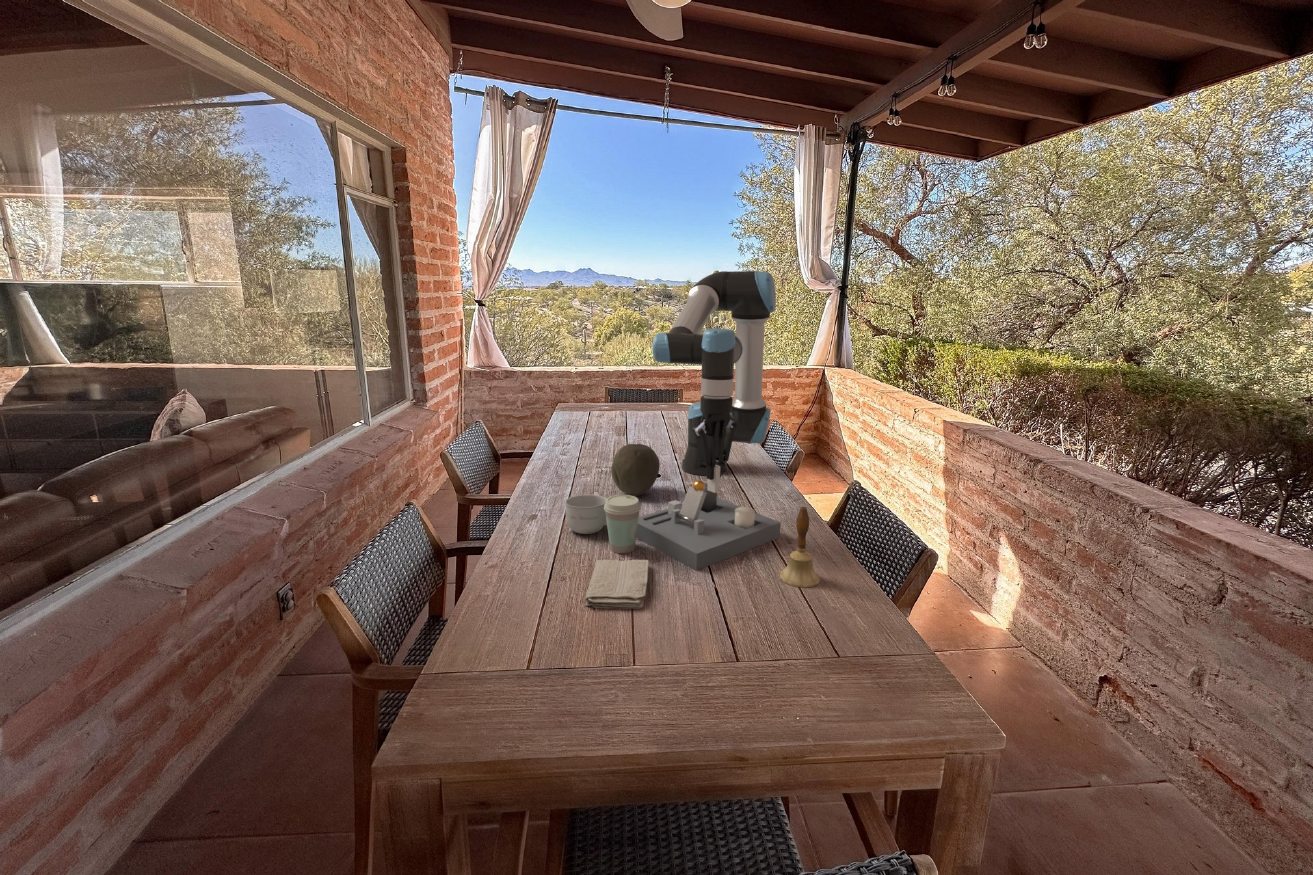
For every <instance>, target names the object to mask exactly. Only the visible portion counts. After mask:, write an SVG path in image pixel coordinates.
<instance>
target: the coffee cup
mask: <svg viewBox="0 0 1313 875" xmlns="http://www.w3.org/2000/svg"><path fill="white" fill-rule="evenodd" d="M606 498H607V500H606V503H605V505H604V510H605V512H606V520H607V525H606V526H607V527H606V528H607V535H608V542H609V549H610V551H612V552H613V553H616V554H629V553H631V552H633V551H634V550H635V548H636V542H637V538H636V535H637V526H638V518H639V517H640V516H639V515H640V510H641V509H642V507H641V503H640V501H639V498H638V497H637V496H632V495H629V494H615V495H611V496H609V497H606Z"/></svg>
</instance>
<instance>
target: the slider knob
mask: <svg viewBox="0 0 1313 875" xmlns="http://www.w3.org/2000/svg"><path fill="white" fill-rule="evenodd" d="M682 504H683V503H682V502H681V501H678V500H671V501H668V502H667V509H668V514H670V515H671V510H675V509H680V510H681V508H682Z"/></svg>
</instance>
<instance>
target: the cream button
mask: <svg viewBox="0 0 1313 875" xmlns="http://www.w3.org/2000/svg"><path fill="white" fill-rule="evenodd" d="M755 513H756V511H755V509H753V508H752V507H746V506H740V507H739V508H736V509H735V523H734V525H736V526H739V527H741V528H743V529H747V528H750V527H753V526H754V520H755Z"/></svg>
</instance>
